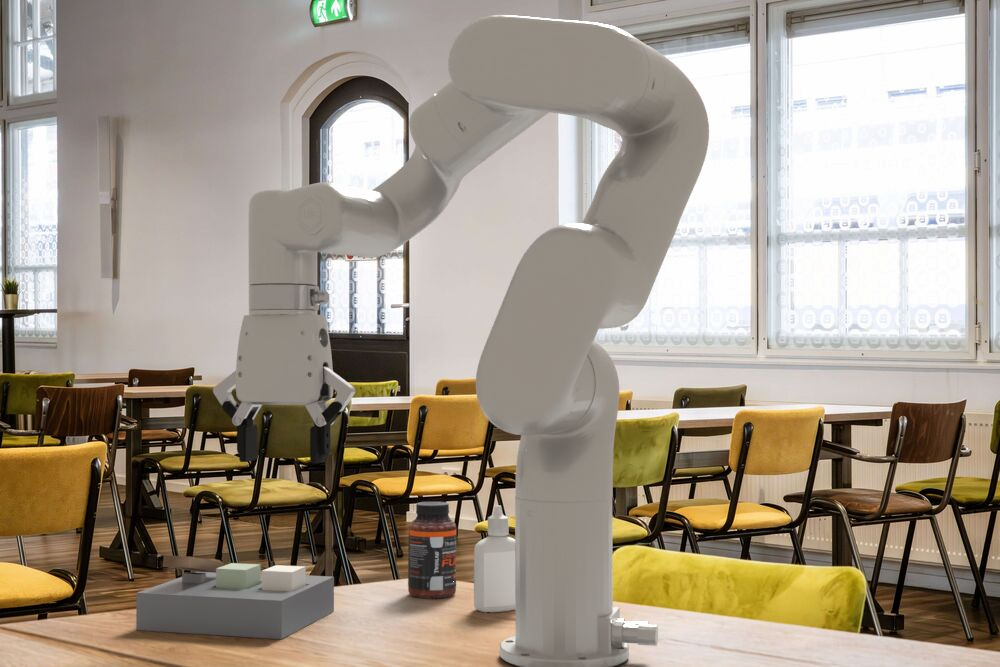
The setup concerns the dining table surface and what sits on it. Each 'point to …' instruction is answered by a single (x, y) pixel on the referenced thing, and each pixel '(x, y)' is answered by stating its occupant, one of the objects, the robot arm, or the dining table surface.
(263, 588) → the white button
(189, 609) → the console
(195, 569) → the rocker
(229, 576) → the sage button
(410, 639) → the dining table surface
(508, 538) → the eye dropper bottle
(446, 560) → the supplement bottle
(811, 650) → the dining table surface
